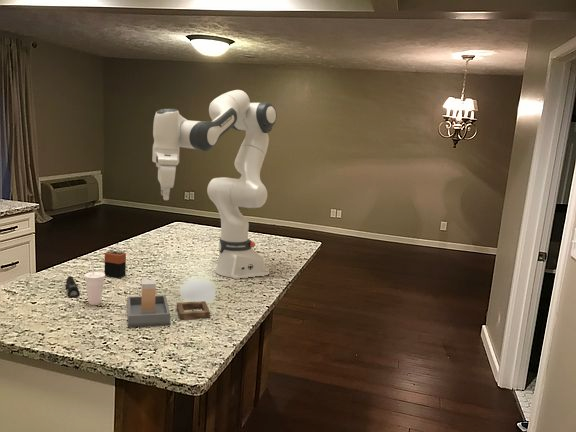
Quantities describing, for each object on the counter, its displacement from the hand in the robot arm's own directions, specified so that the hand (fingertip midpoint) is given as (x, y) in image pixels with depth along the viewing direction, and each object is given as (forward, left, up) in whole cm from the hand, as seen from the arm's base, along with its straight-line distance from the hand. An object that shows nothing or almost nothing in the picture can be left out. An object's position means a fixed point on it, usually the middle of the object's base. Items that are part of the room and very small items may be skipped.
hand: (164, 197), depth 167 cm
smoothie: (+22, +8, -34) cm, 42 cm away
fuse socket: (-8, +21, -34) cm, 41 cm away
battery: (+16, -20, -34) cm, 43 cm away
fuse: (+6, +21, -33) cm, 40 cm away
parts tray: (+6, +21, -34) cm, 40 cm away
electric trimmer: (+30, -6, -35) cm, 46 cm away
